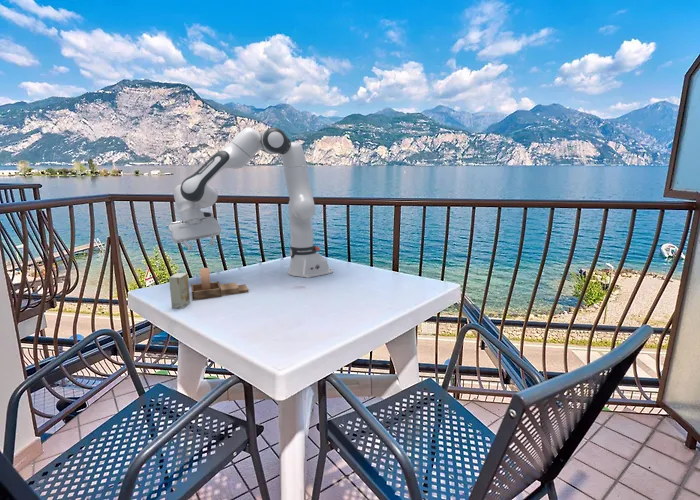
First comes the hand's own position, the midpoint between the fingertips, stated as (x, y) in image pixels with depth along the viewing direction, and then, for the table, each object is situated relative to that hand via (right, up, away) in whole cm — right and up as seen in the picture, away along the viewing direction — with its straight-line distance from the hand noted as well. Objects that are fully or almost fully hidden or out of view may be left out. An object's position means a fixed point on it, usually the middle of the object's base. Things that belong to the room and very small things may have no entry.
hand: (201, 247), depth 154 cm
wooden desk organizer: (+10, -19, -5) cm, 22 cm away
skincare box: (0, -23, -19) cm, 30 cm away
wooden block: (+5, -19, -8) cm, 21 cm away
